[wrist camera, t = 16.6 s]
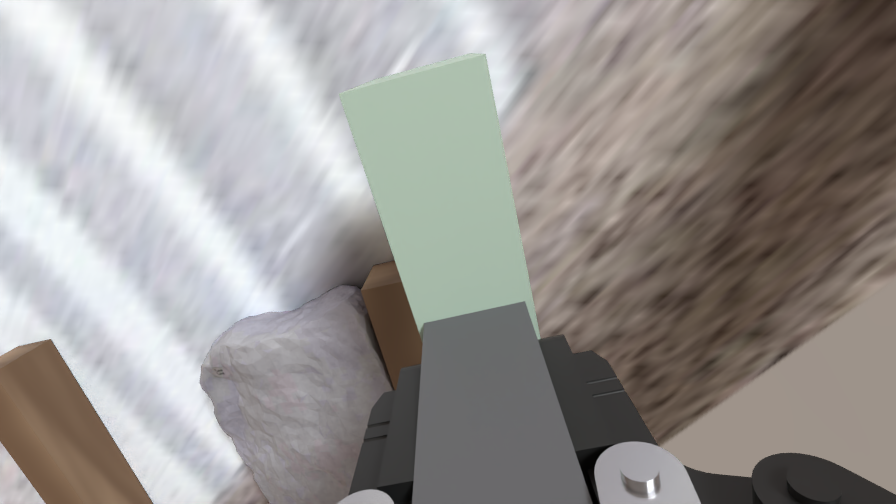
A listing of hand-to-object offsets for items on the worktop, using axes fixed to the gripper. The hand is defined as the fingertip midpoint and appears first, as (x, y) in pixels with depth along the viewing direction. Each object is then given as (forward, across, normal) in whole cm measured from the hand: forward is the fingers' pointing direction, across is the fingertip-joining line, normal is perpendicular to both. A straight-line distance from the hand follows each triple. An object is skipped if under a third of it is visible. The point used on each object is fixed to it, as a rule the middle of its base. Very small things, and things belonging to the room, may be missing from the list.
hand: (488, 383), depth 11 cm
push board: (+6, 0, -1) cm, 6 cm away
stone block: (+11, +10, +6) cm, 17 cm away
